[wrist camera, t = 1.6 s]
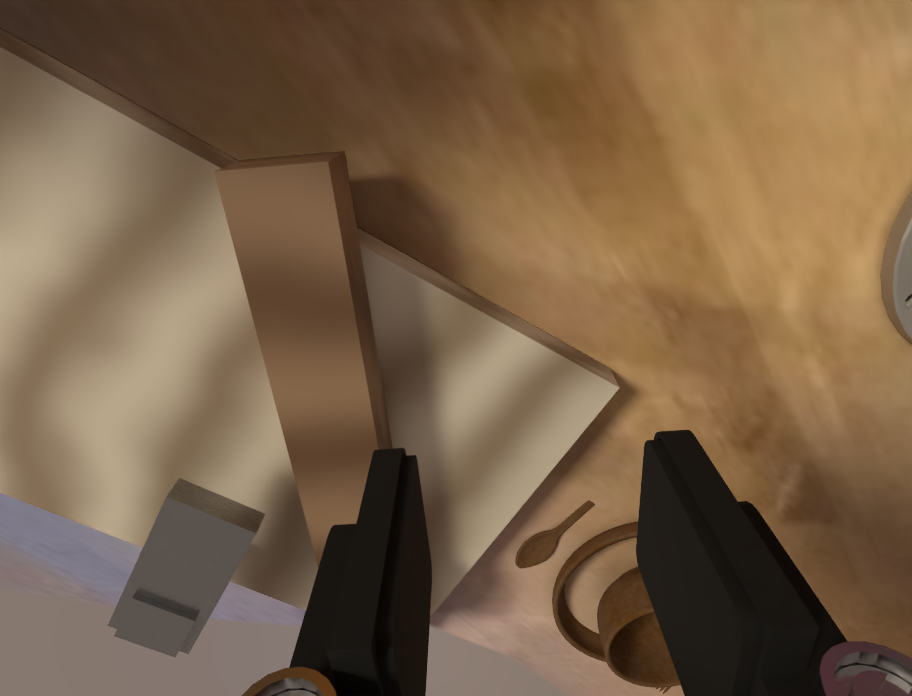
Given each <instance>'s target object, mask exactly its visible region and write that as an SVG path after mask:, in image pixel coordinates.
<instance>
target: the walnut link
mask: <svg viewBox="0 0 912 696" xmlns="http://www.w3.org/2000/svg"><path fill="white" fill-rule="evenodd" d="M214 173H215V177H216V181H217V185H218V188H219V192H220V196H221V200H222V204H223V207H224V211H225V215H226V219H227V223H228V226H229V230H230V234H231V238H232V242H233V245H234V249H235V253H236V257H237V261H238V264H239V268H240V272H241V276H242V280H243V283H244V287H245V291H246V295H247V299H248V302H249V306H250V310H251V314H252V318H253V321H254V325H255V329H256V333H257V337H258V340H259V344H260V348H261V352H262V356H263V359H264V363H265V367H266V371H267V375H268V378H269V382H270V386H271V390H272V394H273V397H274V401H275V405H276V409H277V413H278V416H279V420H280V424H281V428H282V432H283V435H284V439H285V443H286V447H287V451H288V454H289V458H290V462H291V466H292V470H293V473H294V477H295V481H296V485H297V489H298V492H299V496H300V500H301V504H302V508H303V511H304V515H305V519H306V523H307V527H308V530H309V534H310V538H311V542H312V546H313V549H314V553H315V557H316V561H317V565H318V568H319V564H320V561H321V558H322V554H323V551H324V547H325V544H326V540H327V537H328V534H329V531H330V529H331V528H332V526H333V525H342V524H356V523H357V519H358V514H359V510H360V506H361V502H362V497H363V493H364V489H365V485H366V480H367V476H368V472H369V468H370V463H371V459H372V455H373V452H374V450H377V449H393V447H392V441H391V435H390V429H389V422H388V416H387V410H386V404H385V398H384V392H383V385H382V379H381V373H380V367H379V361H378V354H377V348H376V342H375V336H374V330H373V324H372V317H371V311H370V305H369V299H368V293H367V287H366V280H365V274H364V268H363V262H362V256H361V250H360V243H359V237H358V231H357V225H356V219H355V213H354V206H353V200H352V194H351V188H350V182H349V175H348V169H347V163H346V157H345V151H341V152H329V153H318V154H306V155H295V156H283V157H272V158H261V159H249V160H243V161H240V162H238V163H235V164H232V165H230V166H227V167H224V168H222V169H219V170H216V171H214Z"/></svg>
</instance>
